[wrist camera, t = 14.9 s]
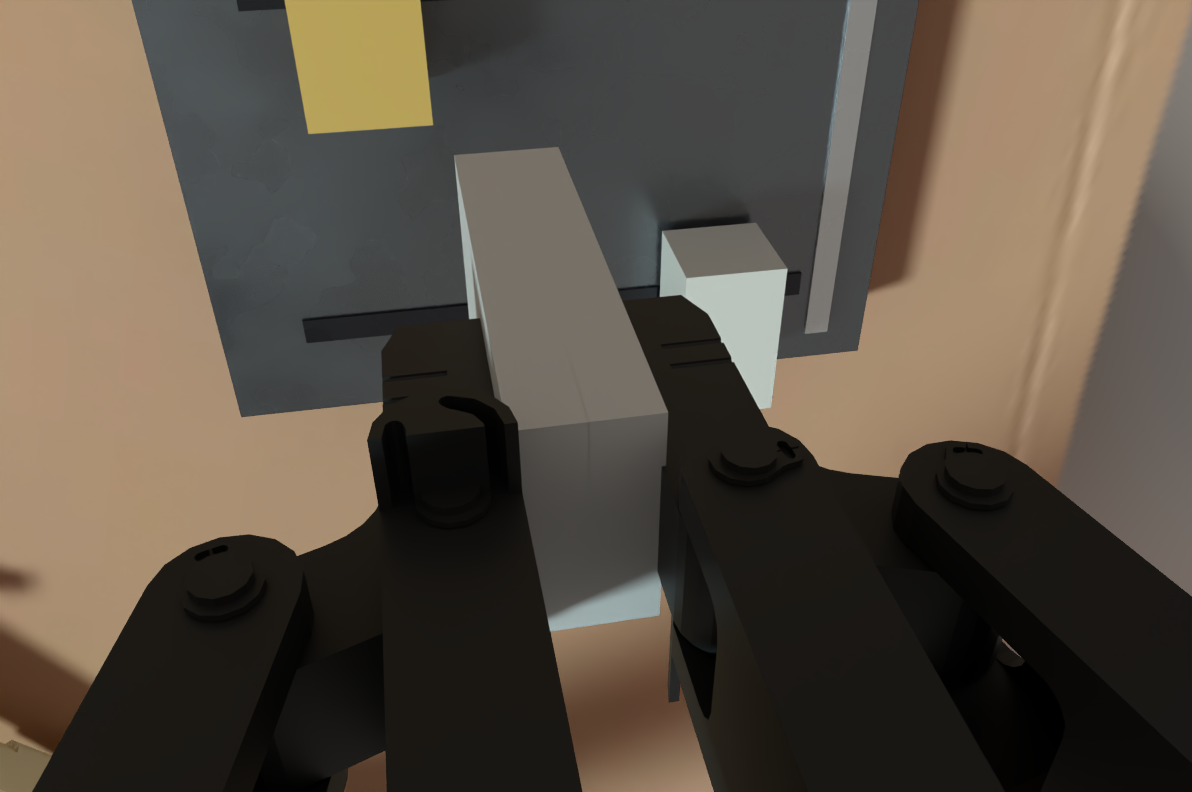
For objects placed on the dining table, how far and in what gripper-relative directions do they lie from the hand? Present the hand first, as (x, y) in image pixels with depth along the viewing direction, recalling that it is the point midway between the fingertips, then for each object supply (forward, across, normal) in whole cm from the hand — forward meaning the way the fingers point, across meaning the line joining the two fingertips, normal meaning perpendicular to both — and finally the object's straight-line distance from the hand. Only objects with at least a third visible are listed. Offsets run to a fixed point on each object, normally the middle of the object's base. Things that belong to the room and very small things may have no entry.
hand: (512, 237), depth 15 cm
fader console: (+17, +3, -5) cm, 18 cm away
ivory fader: (+14, +7, -10) cm, 19 cm away
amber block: (+14, -2, 0) cm, 14 cm away
